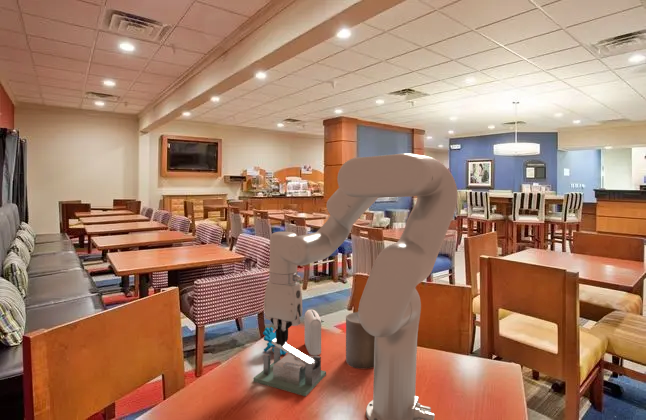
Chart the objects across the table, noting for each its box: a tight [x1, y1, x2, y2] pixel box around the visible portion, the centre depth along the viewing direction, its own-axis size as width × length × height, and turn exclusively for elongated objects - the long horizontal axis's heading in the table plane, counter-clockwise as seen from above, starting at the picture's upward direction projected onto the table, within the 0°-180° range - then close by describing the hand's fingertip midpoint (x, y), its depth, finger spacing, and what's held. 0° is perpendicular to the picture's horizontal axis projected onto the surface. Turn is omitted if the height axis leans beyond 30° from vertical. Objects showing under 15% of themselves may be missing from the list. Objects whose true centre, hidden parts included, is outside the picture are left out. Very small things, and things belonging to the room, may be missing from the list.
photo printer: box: [304, 309, 322, 356], centre depth 124 cm, size 10×4×12 cm, turn 13°
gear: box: [262, 327, 288, 357], centre depth 122 cm, size 11×6×10 cm
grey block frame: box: [262, 346, 322, 386], centre depth 105 cm, size 15×8×6 cm, turn 64°
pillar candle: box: [345, 311, 375, 370], centre depth 115 cm, size 10×10×15 cm
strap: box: [271, 338, 318, 367], centre depth 105 cm, size 14×3×1 cm, turn 65°
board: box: [252, 361, 327, 397], centre depth 106 cm, size 16×12×1 cm
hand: (281, 342), depth 106 cm, fingers closed
